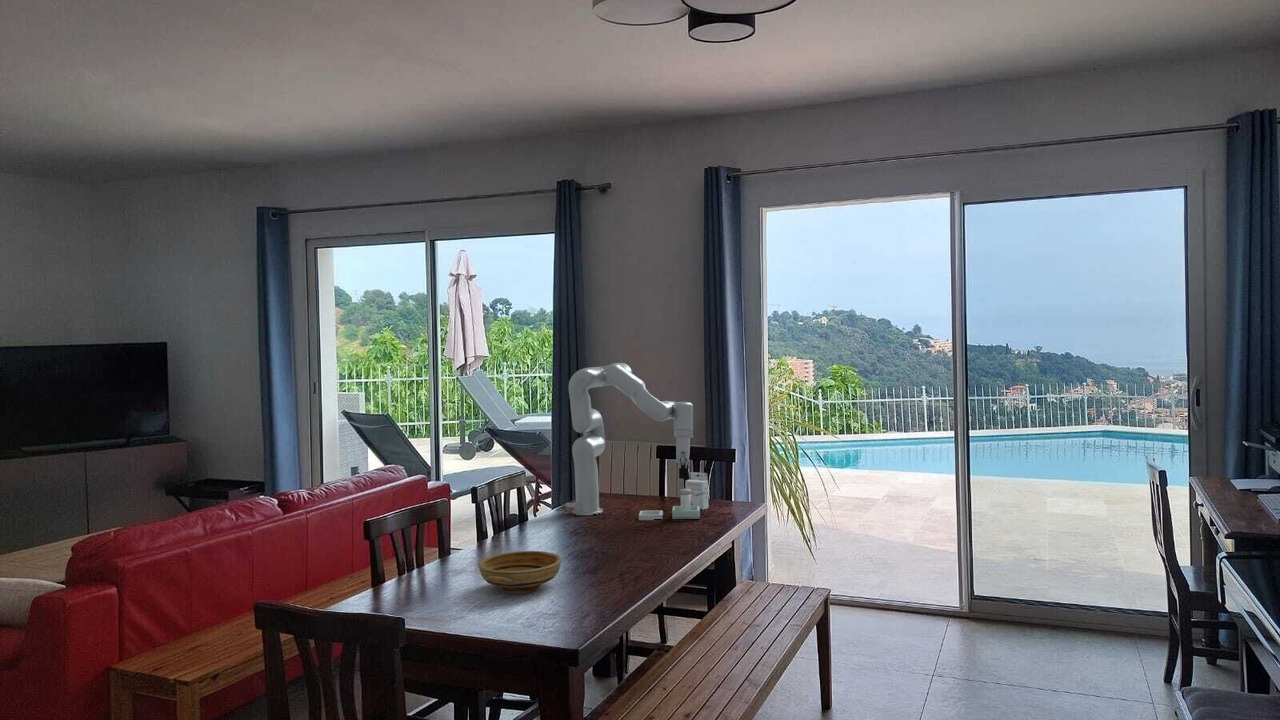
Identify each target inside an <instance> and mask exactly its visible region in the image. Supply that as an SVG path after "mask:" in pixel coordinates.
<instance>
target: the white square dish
mask: <svg viewBox="0 0 1280 720" xmlns="http://www.w3.org/2000/svg"><path fill="white" fill-rule="evenodd" d="M663 515H664V511H663V510H657V509H656V510H640V511H639V513H638V521H655V520H654V519H662V520H663V517H664V516H663ZM662 516H663V517H662Z"/></svg>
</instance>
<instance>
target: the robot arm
mask: <svg viewBox="0 0 1280 720" xmlns="http://www.w3.org/2000/svg"><path fill="white" fill-rule="evenodd" d="M606 386H613V387H615V388H616V389H617V390H619V391H620V392H621V393H622V394H624V395H625V396H627V397H629V399H631V400H632V402H633V403H634V404H635V406H636V407H637V408H638V409H639V410H640V411H641V412H643V413H644V414H646V415H647V416H648V417H649V418H651V419H653V420H655V421H657V422H664V421H667V420H671V419H673V437H674V438H676V443H675V447H676V448H675V449H676V450H675V451H676V452H675V456H676V457H675V459H676V460H675V463H679V467H678V478H679V479H681V480H683V479H685V480H688V474H689V464H688V463H689V460H690V453H691V452H690V451H691V449H690V448H691V438H694V406H693V403H692V402H690V401H671V400H663V401H660V400H659V399H658V398H656V397H654V396H653V395H652V394H651V393H650V392H649V391H648V390H647V387H646V383H645V382H644V381H643V380H642V379H641V378H639V377H638V376H636V375H635V374H634V373H633V371H632V368H631V367H630V366H629V365H628V364H626V363H625V362H615V363H611V364H608V365H601V366H593V367H590V366H589V367H584V368H582V369H579V370H577V371H575V372H574V373H573V375H572V376H571V377H570V380H569V381H568V395H569V403H570V405H569V406H570V414H571V423H572V427H573V430H574V431H575V432H577V433H579V434H583V435H582V436H581V437H578V438H577V439H575V441H574V443H573V445H572V447H571V448H572V449H571V451H572V457H573V464H574V465H573V466H574V483H575V502H572V503H570V502H566V503H565V509H572V514H573V515H575V514H576V515H575V516H594V515H593V514H596V515H600V514H602V513H604V509H603V508H602V507H600V494H599V492H600V491H599V490H600V489H599V469H598V462H597V458H596V457H599V456H601V454H603V453H604V451H605V448H606V436H605V427H604V426H605V425H604V421H603V417H602V415H601V412H599V410H597V409H595V408H592V403H591V402H592V400H591V399H592V398H591V396H590V393H589V390H591V389H594V388H601V387H606ZM599 513H600V514H599Z"/></svg>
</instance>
